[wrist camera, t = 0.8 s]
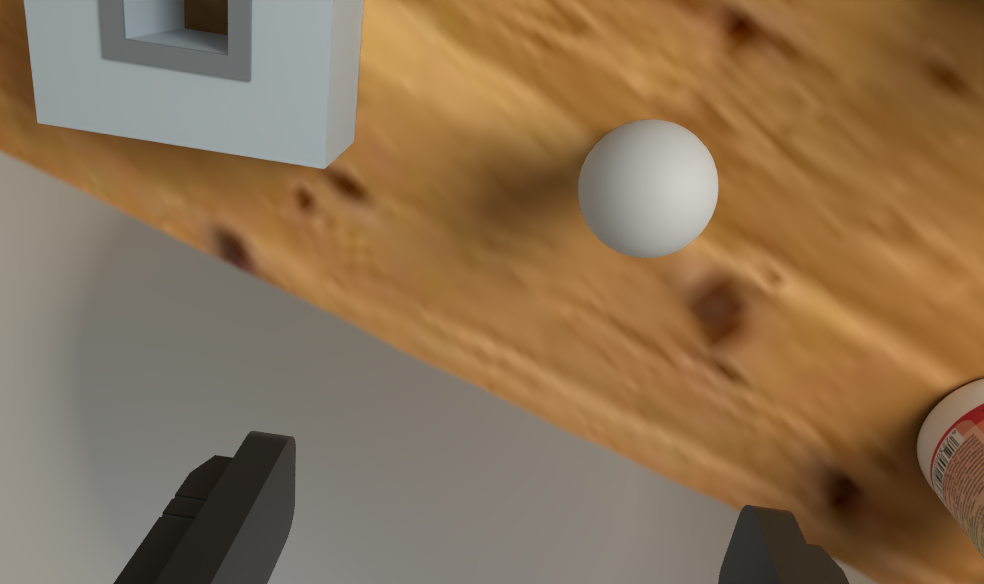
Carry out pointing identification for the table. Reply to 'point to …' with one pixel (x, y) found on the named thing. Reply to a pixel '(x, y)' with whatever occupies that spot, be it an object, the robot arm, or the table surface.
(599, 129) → the table surface
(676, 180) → the lightbulb
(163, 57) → the socket block
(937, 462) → the fruit juice
